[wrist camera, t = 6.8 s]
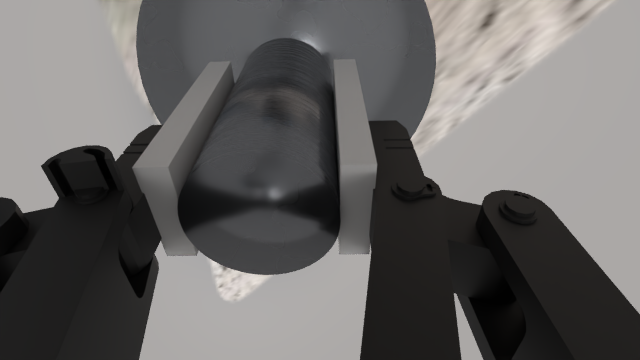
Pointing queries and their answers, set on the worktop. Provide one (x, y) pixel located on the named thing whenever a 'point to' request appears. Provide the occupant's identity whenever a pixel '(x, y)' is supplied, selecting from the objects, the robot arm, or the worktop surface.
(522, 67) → the worktop surface
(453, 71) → the worktop surface
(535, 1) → the worktop surface
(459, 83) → the worktop surface
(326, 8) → the lid
